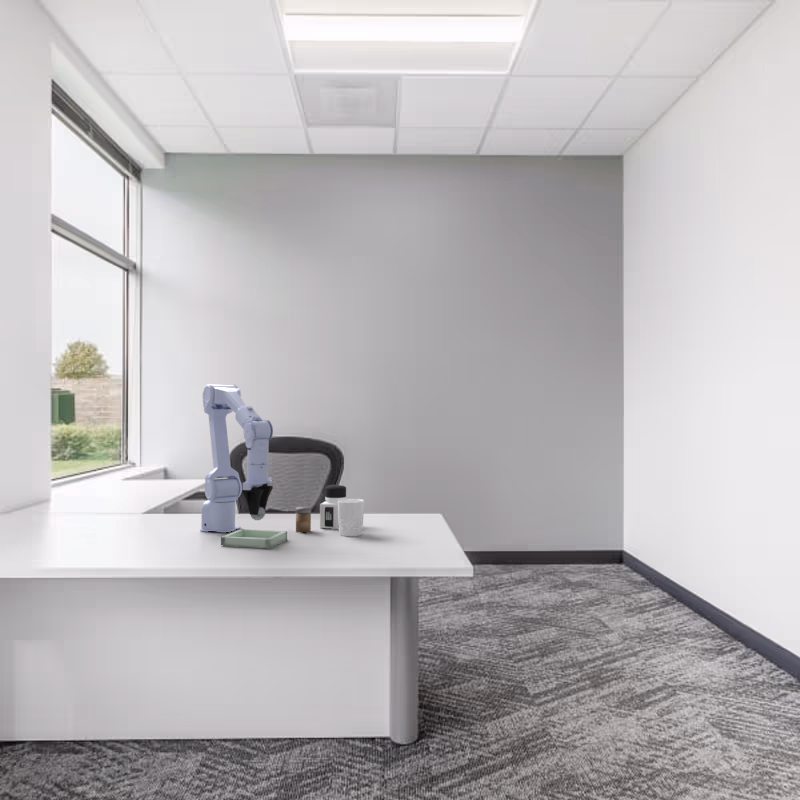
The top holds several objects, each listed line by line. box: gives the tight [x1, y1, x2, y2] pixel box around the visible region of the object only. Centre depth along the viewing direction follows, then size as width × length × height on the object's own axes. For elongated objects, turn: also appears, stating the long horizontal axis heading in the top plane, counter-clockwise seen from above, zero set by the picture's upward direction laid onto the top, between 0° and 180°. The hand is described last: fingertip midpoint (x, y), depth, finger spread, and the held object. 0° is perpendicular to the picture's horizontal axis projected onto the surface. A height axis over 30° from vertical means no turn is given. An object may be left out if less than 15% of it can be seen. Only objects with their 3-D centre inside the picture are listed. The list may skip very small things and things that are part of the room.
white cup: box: [338, 498, 365, 537], centre depth 188 cm, size 8×8×10 cm
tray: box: [220, 528, 288, 550], centre depth 175 cm, size 14×12×2 cm
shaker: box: [295, 506, 312, 534], centre depth 192 cm, size 5×5×7 cm
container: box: [319, 484, 347, 530], centre depth 200 cm, size 8×8×13 cm
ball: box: [250, 506, 266, 521], centre depth 176 cm, size 4×4×4 cm
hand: (257, 513), depth 176 cm, fingers closed on ball, 4 cm apart
